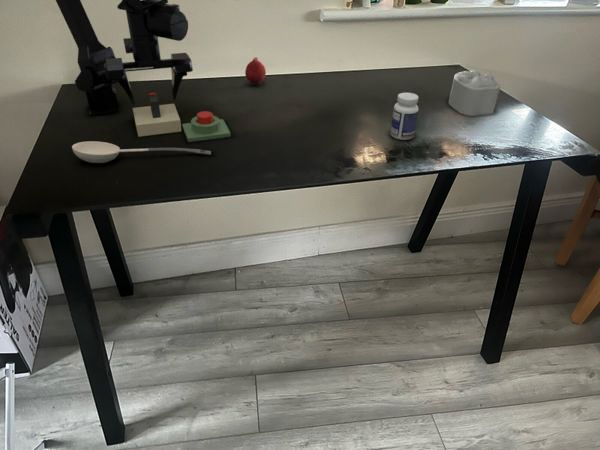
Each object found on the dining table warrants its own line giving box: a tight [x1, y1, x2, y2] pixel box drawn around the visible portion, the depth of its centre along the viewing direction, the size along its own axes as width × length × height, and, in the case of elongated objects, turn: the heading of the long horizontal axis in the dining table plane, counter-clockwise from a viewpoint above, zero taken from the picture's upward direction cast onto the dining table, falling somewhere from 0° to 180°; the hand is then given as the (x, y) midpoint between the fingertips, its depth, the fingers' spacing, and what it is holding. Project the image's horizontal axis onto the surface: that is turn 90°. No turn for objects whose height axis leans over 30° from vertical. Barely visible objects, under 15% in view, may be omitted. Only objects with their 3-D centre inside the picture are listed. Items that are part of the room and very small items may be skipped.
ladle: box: [71, 140, 212, 164], centre depth 105 cm, size 6×28×5 cm, turn 101°
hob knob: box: [147, 92, 161, 118], centre depth 116 cm, size 5×2×4 cm, turn 19°
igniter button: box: [196, 110, 214, 125], centre depth 114 cm, size 4×4×2 cm
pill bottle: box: [389, 92, 419, 141], centre depth 115 cm, size 6×6×10 cm
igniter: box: [181, 114, 232, 143], centre depth 116 cm, size 10×8×3 cm
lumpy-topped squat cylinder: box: [448, 69, 501, 117], centre depth 132 cm, size 10×13×9 cm
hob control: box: [132, 103, 183, 138], centre depth 118 cm, size 10×10×3 cm
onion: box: [244, 56, 267, 86], centre depth 139 cm, size 6×6×8 cm
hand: (154, 101), depth 115 cm, fingers open, 9 cm apart
